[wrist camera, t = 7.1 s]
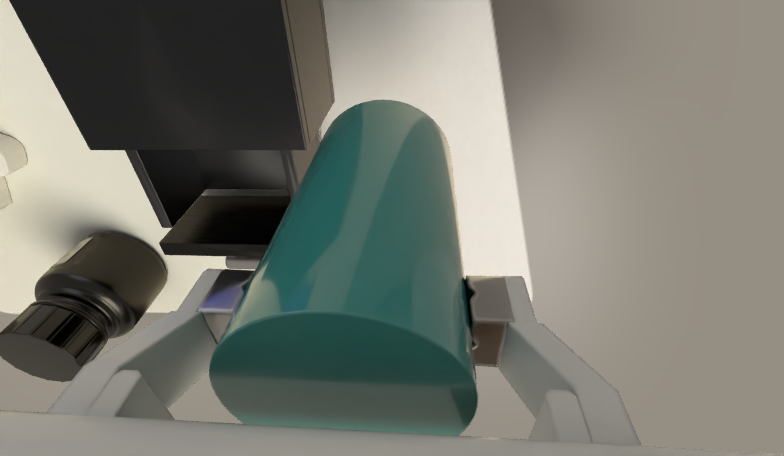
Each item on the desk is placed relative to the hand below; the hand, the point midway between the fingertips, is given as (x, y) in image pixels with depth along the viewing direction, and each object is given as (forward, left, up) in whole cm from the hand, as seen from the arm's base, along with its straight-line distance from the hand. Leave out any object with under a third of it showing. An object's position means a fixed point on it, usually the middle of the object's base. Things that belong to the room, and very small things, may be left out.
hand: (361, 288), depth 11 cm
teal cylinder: (0, 0, -8) cm, 8 cm away
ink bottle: (+30, +19, -22) cm, 41 cm away
